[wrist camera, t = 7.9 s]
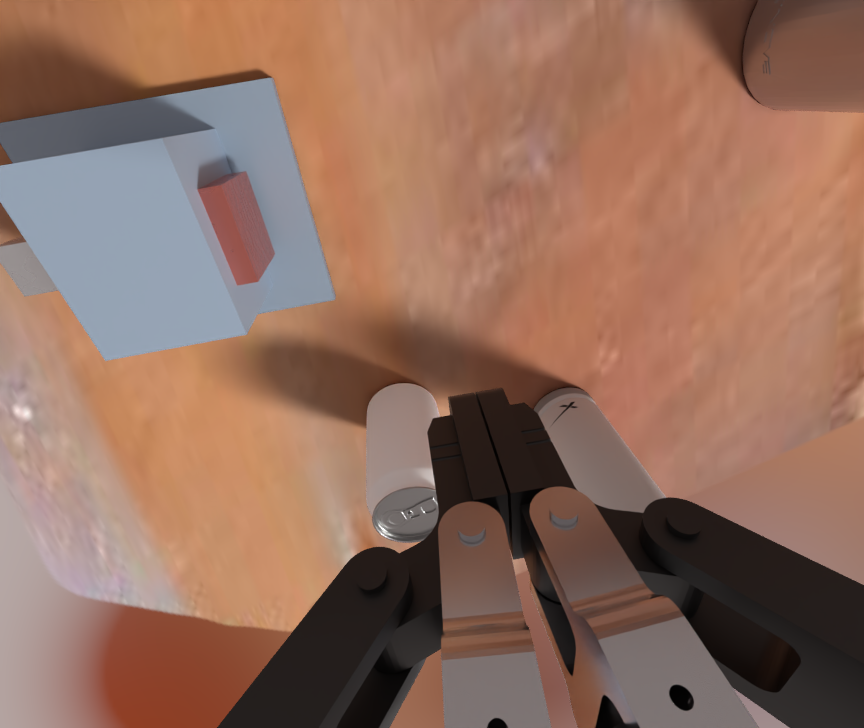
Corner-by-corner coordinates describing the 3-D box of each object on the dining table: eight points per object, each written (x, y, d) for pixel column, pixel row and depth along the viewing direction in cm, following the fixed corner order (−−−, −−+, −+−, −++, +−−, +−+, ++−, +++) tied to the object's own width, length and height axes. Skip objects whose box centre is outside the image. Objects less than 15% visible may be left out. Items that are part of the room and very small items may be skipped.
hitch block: (273, 78, 25) (233, 68, 18) (335, 295, 33) (325, 351, 25) (-1, 124, 25) (-156, 133, 17) (126, 334, 32) (55, 402, 25)
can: (353, 397, 38) (348, 505, 28) (420, 369, 37) (439, 470, 27) (385, 445, 41) (390, 557, 31) (447, 420, 41) (472, 527, 30)
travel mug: (543, 380, 39) (673, 589, 23) (603, 392, 41) (767, 594, 24) (517, 431, 42) (615, 650, 25) (574, 440, 44) (702, 651, 27)
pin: (246, 170, 26) (220, 185, 21) (275, 254, 29) (258, 281, 24) (26, 209, 25) (-45, 231, 21) (77, 289, 28) (24, 324, 24)
